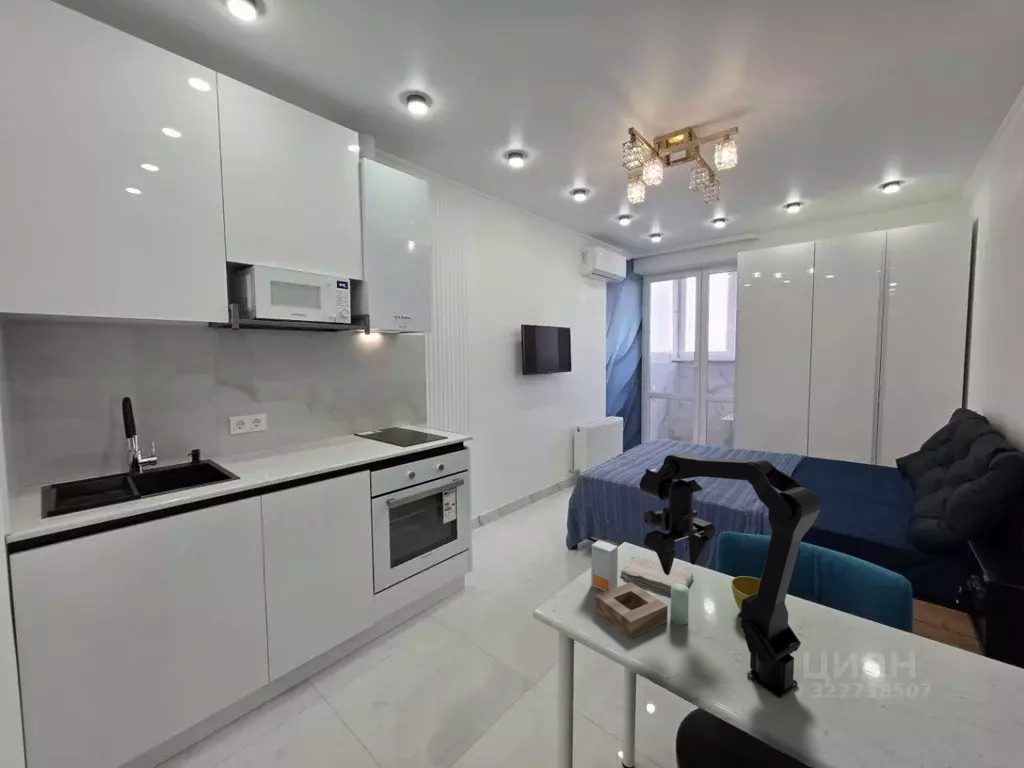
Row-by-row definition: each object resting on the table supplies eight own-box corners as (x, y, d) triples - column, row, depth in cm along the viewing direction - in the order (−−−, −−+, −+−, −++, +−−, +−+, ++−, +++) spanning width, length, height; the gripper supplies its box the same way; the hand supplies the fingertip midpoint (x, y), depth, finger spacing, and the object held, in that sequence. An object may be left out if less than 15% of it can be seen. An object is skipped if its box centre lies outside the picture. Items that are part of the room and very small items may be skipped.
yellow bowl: (785, 617, 103) (786, 589, 102) (765, 634, 97) (766, 604, 97) (743, 598, 111) (744, 571, 111) (722, 612, 106) (723, 584, 105)
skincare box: (590, 586, 118) (590, 544, 117) (598, 579, 121) (598, 539, 120) (610, 594, 114) (610, 551, 113) (618, 587, 117) (618, 545, 116)
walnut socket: (667, 621, 102) (667, 605, 102) (630, 638, 97) (630, 621, 96) (630, 596, 113) (630, 581, 112) (595, 610, 107) (595, 595, 107)
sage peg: (691, 621, 102) (692, 589, 102) (680, 627, 100) (681, 594, 100) (678, 612, 106) (678, 581, 105) (666, 617, 104) (667, 586, 103)
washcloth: (633, 561, 132) (633, 552, 132) (694, 579, 121) (694, 568, 121) (618, 579, 122) (618, 568, 122) (684, 599, 112) (684, 588, 112)
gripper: (679, 489, 112) (678, 546, 113) (626, 503, 103) (626, 565, 104) (717, 502, 103) (716, 564, 104) (663, 518, 94) (663, 586, 95)
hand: (680, 569), depth 102 cm, fingers open, 9 cm apart
